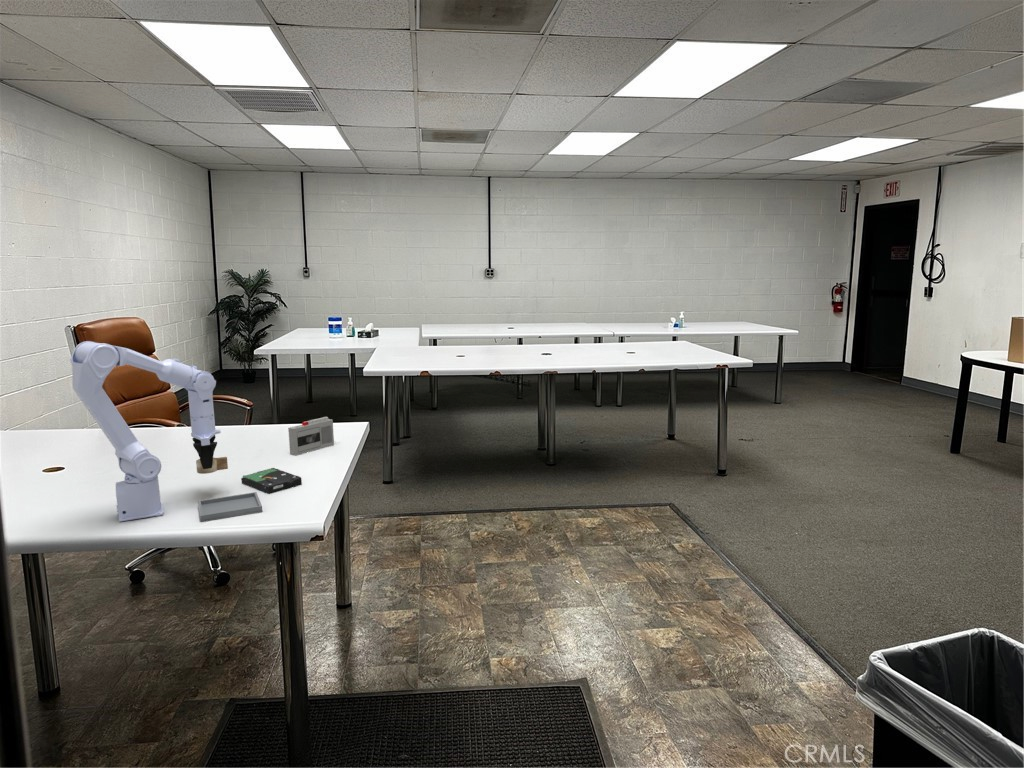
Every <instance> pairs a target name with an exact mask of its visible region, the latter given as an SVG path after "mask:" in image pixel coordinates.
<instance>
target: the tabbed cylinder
mask: <svg viewBox="0 0 1024 768" xmlns="http://www.w3.org/2000/svg"><path fill="white" fill-rule="evenodd" d="M195 464H196V473H197V474H201V475H205V474H206V475H207V474H212V473H215V472H217V471H222V470H223V471H224V470H228V469H229V465H228V456H221V457H214V456H213V464H212V468H209V469H203V467H202V465H201V461H200V458H199V459H196V461H195Z"/></svg>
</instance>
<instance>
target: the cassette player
mask: <svg viewBox="0 0 1024 768" xmlns="http://www.w3.org/2000/svg"><path fill="white" fill-rule="evenodd" d="M288 442H289V444H288V445H289V455H290V456H293V457H298V456H299V455H304V454H307V452H308V453H310V452H311V453H312V452H314V451H318V450H322V449H326V448H329V447H332V446H335V436H334V421H333V419H330V418H329V417H328V416H323V417H320V418H315V419H314V418H313V419H309V420H307V421H302V422H301V424H299V425H295V426H290V427H288Z"/></svg>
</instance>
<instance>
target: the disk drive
mask: <svg viewBox="0 0 1024 768" xmlns="http://www.w3.org/2000/svg"><path fill="white" fill-rule="evenodd" d="M240 479H241V484H242V485H244V486H247V487H250V488H253V489H255V490H257V491H259V492H261V493H265V494H267V495H270V494H271V495H272V494H274V493H278V492H282V491H285V490H288V489H289V490H290V489H293V488H296V487H299V486H302V485H303V482H302V477H301V476H299V475H295V474H292V473H290V472H287V471H285V470H281V469H278V468H275V467H271V468H267V469H262V470H259V471H257V472H253V473H250V474H247V475H244V474H243V475H242V477H241V478H240ZM292 487H293V488H292Z"/></svg>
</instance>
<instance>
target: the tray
mask: <svg viewBox="0 0 1024 768" xmlns="http://www.w3.org/2000/svg"><path fill="white" fill-rule="evenodd" d="M197 504H198V510H199V511H198V512H199V519H200V520H199V521H200V523H202V522H209V521H210V522H211V521H215V520H222V519H228V518H233V517H240V516H246V515H253V514H257V513H258V514H259V513H262V512H263V506H262V502H261V500H260V497H259V495H258V492H257V491H254V492H248V493H241V494H240V493H239V494H234V495H227V496H221V497H215V498H208V499H202V500H201V499H200V500H198V502H197Z"/></svg>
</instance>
